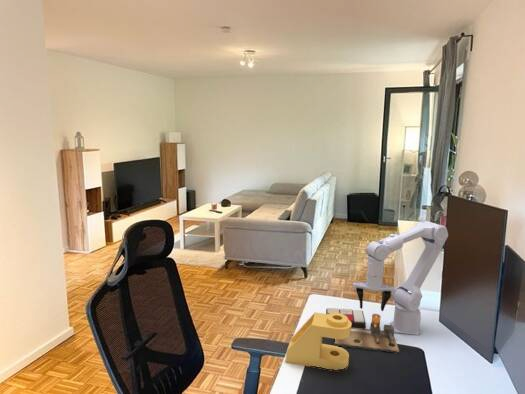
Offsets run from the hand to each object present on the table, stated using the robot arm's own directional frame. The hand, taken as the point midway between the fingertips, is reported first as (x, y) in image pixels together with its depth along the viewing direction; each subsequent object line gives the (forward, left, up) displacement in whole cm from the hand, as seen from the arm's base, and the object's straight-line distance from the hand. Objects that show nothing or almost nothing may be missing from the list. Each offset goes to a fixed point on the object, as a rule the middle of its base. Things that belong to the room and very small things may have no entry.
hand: (371, 308), depth 142 cm
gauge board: (+2, +5, -10) cm, 12 cm away
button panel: (+9, -8, -11) cm, 16 cm away
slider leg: (-2, +4, -9) cm, 10 cm away
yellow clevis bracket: (+19, +21, -11) cm, 30 cm away
